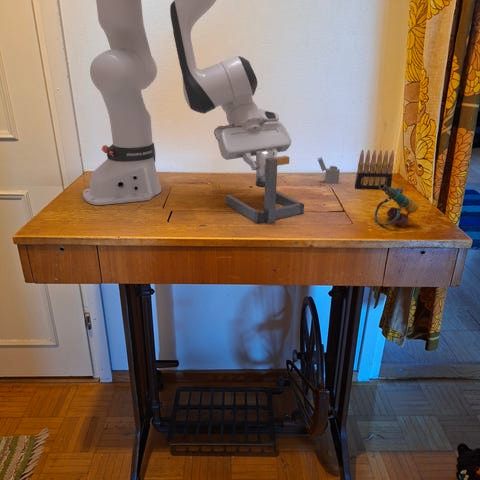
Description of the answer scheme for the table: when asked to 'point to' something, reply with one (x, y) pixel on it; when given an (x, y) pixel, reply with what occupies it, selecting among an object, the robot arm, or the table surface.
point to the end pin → (262, 165)
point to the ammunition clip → (374, 171)
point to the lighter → (329, 172)
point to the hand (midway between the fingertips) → (265, 167)
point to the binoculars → (402, 202)
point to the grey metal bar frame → (269, 198)
